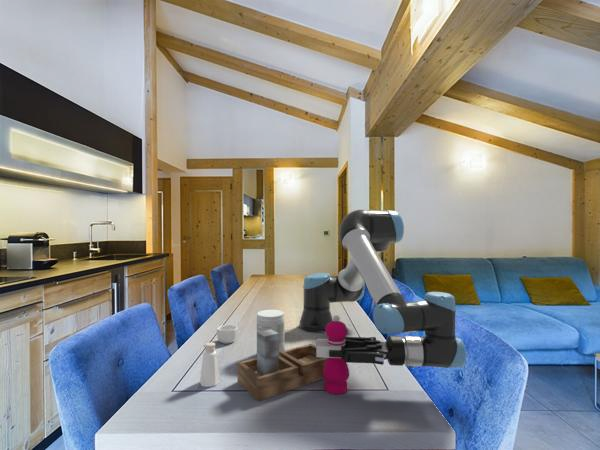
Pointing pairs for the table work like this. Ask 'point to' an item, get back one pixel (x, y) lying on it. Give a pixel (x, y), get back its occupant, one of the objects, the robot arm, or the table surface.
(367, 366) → the table surface
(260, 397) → the wooden condiment caddy
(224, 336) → the teacup
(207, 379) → the pepper shaker
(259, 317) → the supplement tub
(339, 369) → the pepper mill
